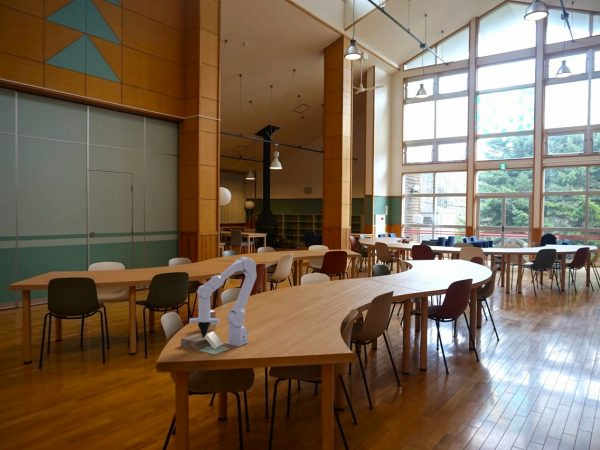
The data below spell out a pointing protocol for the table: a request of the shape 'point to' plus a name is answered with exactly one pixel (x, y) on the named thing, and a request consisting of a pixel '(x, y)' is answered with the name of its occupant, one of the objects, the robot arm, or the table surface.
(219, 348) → the mat
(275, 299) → the table surface
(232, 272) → the robot arm
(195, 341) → the deck
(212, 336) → the white rectangular block
